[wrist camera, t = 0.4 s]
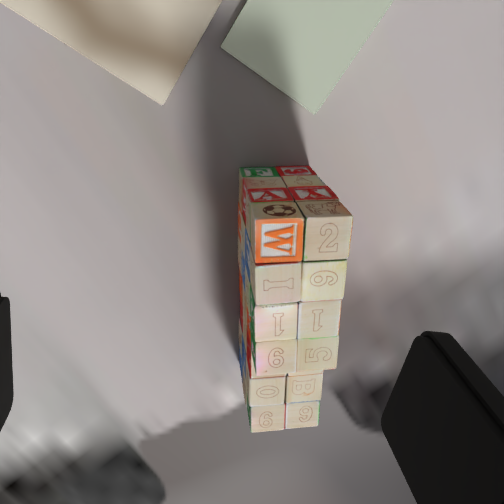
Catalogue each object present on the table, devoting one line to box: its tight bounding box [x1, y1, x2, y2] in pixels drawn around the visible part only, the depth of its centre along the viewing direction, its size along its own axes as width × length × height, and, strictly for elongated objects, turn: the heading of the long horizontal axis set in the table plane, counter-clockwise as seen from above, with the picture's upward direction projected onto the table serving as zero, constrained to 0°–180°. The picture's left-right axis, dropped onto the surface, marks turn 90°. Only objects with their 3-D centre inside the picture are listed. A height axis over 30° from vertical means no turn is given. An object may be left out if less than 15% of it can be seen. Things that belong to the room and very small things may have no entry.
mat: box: [220, 0, 394, 115], centre depth 33 cm, size 12×9×1 cm
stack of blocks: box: [238, 166, 353, 432], centre depth 37 cm, size 21×6×12 cm, turn 0°
